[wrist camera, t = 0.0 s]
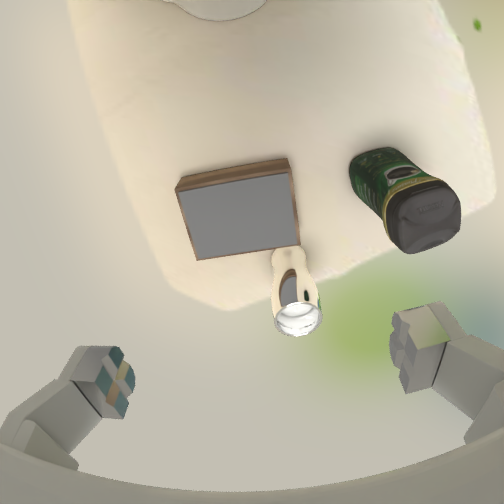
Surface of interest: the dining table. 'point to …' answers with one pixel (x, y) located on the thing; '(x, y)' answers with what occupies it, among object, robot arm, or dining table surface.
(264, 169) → the walnut plinth
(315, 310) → the beer glass
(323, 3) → the dining table surface
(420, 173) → the coffee jar
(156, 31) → the dining table surface
